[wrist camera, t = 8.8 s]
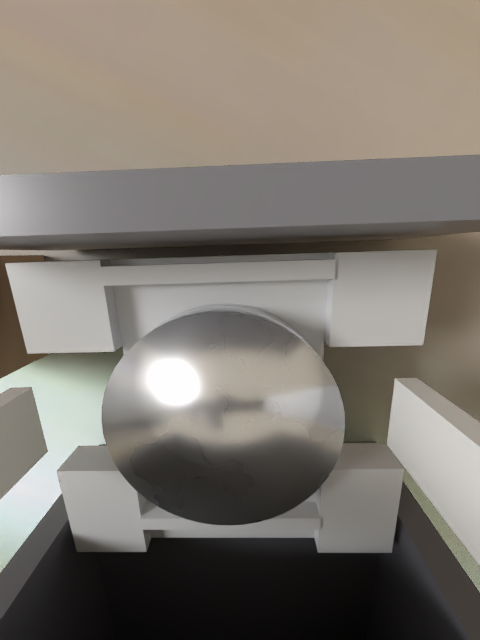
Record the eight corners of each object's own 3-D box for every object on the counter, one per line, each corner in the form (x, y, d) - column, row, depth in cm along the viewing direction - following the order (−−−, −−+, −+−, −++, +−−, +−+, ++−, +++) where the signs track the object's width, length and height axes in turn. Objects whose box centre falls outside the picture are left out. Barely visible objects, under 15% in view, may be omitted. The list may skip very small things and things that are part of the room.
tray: (101, 467, 16) (-42, 677, 8) (54, 229, 13) (-275, 187, 5) (374, 464, 16) (509, 687, 8) (403, 216, 12) (706, 144, 4)
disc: (107, 308, 9) (79, 318, 8) (334, 298, 9) (352, 308, 7) (139, 488, 11) (122, 526, 10) (326, 486, 11) (339, 524, 9)
